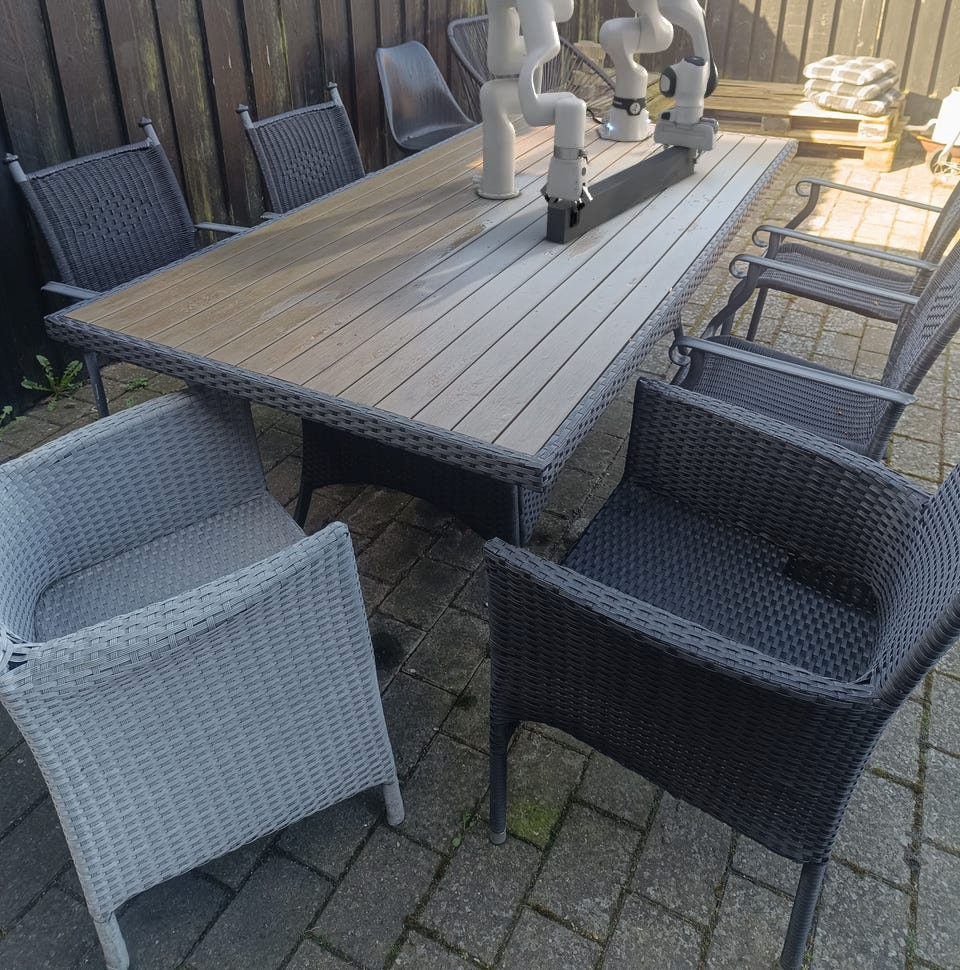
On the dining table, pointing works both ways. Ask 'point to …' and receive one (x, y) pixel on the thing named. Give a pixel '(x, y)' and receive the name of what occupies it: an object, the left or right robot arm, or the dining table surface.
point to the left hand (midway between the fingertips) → (564, 223)
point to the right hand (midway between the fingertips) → (681, 161)
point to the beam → (620, 192)
